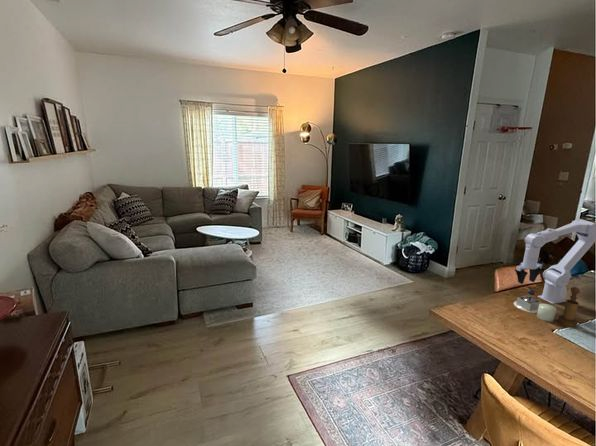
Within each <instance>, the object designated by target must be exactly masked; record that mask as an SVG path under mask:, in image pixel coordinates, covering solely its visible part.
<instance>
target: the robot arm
mask: <svg viewBox="0 0 596 446" xmlns="http://www.w3.org/2000/svg"><path fill="white" fill-rule="evenodd" d="M571 233H575V234H576V236H577V238H578V240H577V241H576V242H575V244H574V245H572V247H571V248H570V249H569V250H568V252H567V253H566V254H565V255H564V256H563V258H562V259H561V260H560V261H559V262H558V263H557V264H553V265H551V266H550V267H548V268H547V269H545V270H544V271H543V269H542V267H543V264H541V263H538V261H539V256H540V250H541V248H543V246H545V244H547V243H549V242H553V241H556V240H558V239H559V237H560V236H564V235H567V234H571ZM523 241H524V243H525V249H524V250H525V251H524V254H523V260H522V262H520V264H519V265H516V267H515V269H514V272H515V274H516V277H517V283H519V284H521V285H522V284H524V281H525V279H526V276H527V275H528V272H527V271H528V270H529V276H528V277H529V278H528V280H529V282H532V283H535V281H536V279H537V277H538V276H539V275H540V274H541V273H542V277H543V279H544V287H543V290H542V294H541V295H538V296H537V298H539V299H541V300H544V301H546V302H549V303H550V304H552V305H555V304H560V303H564V302H565V303H566V302H567V300H566V299H565V298H566V294H567V285H568V284H569V282H570V279H571V278H572V274H571V270H572V269H573V268H574V267H575V265H576V264H577V263H578V262H579V261H580V260H581V259H582V258H583V256H584V255H585V254H586V253H587V252H588V251H589V249H590V248H592V246H593V245H594V244H595V242H596V222H593V221H589V220H586V219H583V218H578V219H576V220H572V221H571V223H567V224H565V225H563V226H561V227H558V228H556V229H555V228H546V229H545V230H542V231H538V232H536V233H532V232H531V233H529V234H527V235H526V236H525V237H524V240H523ZM526 270H527V271H526Z"/></svg>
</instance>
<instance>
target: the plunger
mask: <svg viewBox="0 0 596 446" xmlns="http://www.w3.org/2000/svg"><path fill="white" fill-rule="evenodd" d="M526 293H527V294H528V296H529V298H528V297H524V298H523V300H525V301H527V302H529V303H536V301H535V300H534V299H535V298H534V299H532V298H533V297H532V296H535V294H536V290H535V289H534V288H527V290H526ZM531 297H532V298H531Z"/></svg>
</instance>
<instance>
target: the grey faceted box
mask: <svg viewBox="0 0 596 446" xmlns="http://www.w3.org/2000/svg"><path fill="white" fill-rule="evenodd" d="M516 297H517V298H516V301H517V302H516V304H517V305H519V306H521V307H523V308H524V309H526V310H528V311H533V310H538V308H539V304H543V301H540V300H539V299H536V298H535V297H531V298H532V299H534V300H535V301H536V303H529V302H527V301H525V300H523V298H524V297H528V298H529V295H525V296H524V295H523V296H522V295H520V294H517V296H516Z"/></svg>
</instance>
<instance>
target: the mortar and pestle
mask: <svg viewBox="0 0 596 446" xmlns="http://www.w3.org/2000/svg"><path fill="white" fill-rule="evenodd" d="M570 292H571V295H570V297H569V298H570V299H567V300H566V302H565V308H564V310H563V314H562V315H559V316H558V319H557V322H558V324H560V325H562V326H564V327H568V328H573V329H574V328H577V324H578V321H577V320H576V318H575V317H576V314H577V310H578V307H579V302H578V301H577V300H578V297H577V295H578V294H580V293H581V290H580V288H579V287H577V286H572V287H571V288H570Z"/></svg>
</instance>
